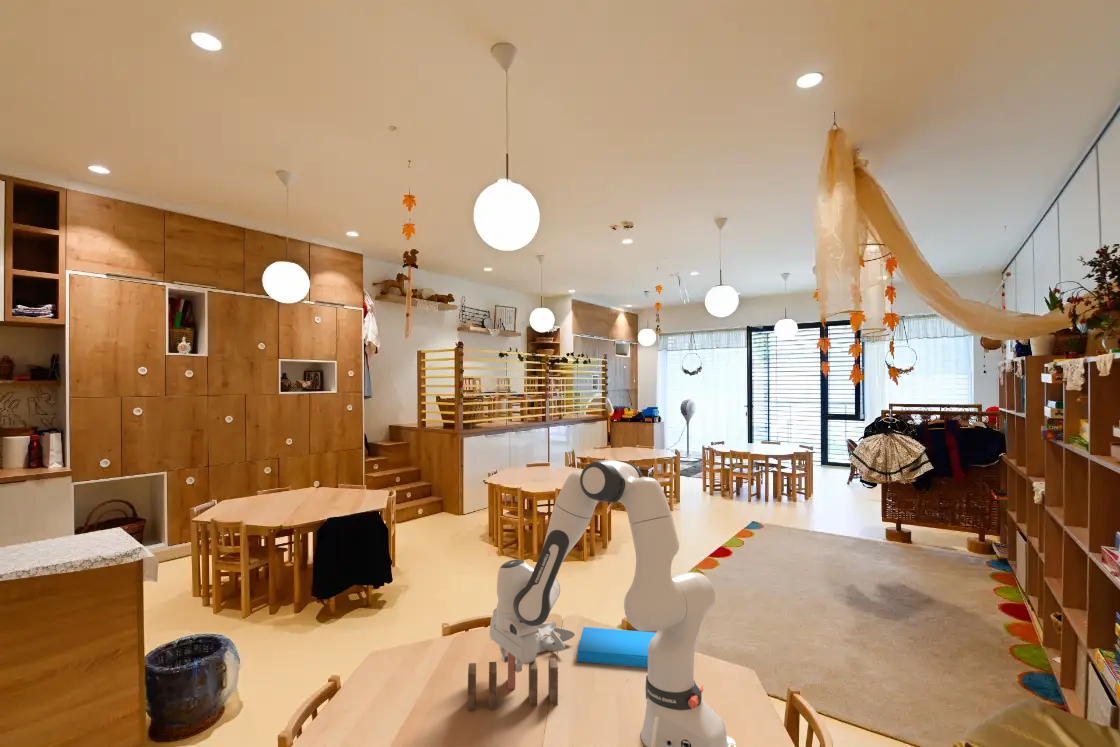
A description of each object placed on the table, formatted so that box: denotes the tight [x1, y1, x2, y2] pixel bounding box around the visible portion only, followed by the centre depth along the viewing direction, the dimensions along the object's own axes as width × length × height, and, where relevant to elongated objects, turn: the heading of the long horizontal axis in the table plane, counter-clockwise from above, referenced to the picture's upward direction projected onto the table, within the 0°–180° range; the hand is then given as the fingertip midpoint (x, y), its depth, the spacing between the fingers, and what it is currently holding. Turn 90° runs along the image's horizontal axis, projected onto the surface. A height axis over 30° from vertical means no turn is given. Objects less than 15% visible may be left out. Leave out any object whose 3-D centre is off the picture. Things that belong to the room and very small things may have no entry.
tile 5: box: [547, 657, 559, 706], centre depth 148 cm, size 2×5×10 cm, turn 7°
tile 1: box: [467, 662, 477, 712], centre depth 146 cm, size 2×5×10 cm, turn 7°
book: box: [576, 626, 657, 669], centre depth 175 cm, size 17×4×25 cm
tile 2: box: [488, 661, 498, 711], centre depth 146 cm, size 2×5×10 cm, turn 7°
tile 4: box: [528, 658, 539, 708], centre depth 148 cm, size 2×5×10 cm, turn 7°
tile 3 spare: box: [507, 652, 517, 690], centre depth 156 cm, size 2×5×10 cm, turn 7°
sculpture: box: [534, 621, 576, 654], centre depth 179 cm, size 18×20×6 cm
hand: (511, 666), depth 156 cm, fingers closed on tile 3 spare, 5 cm apart
